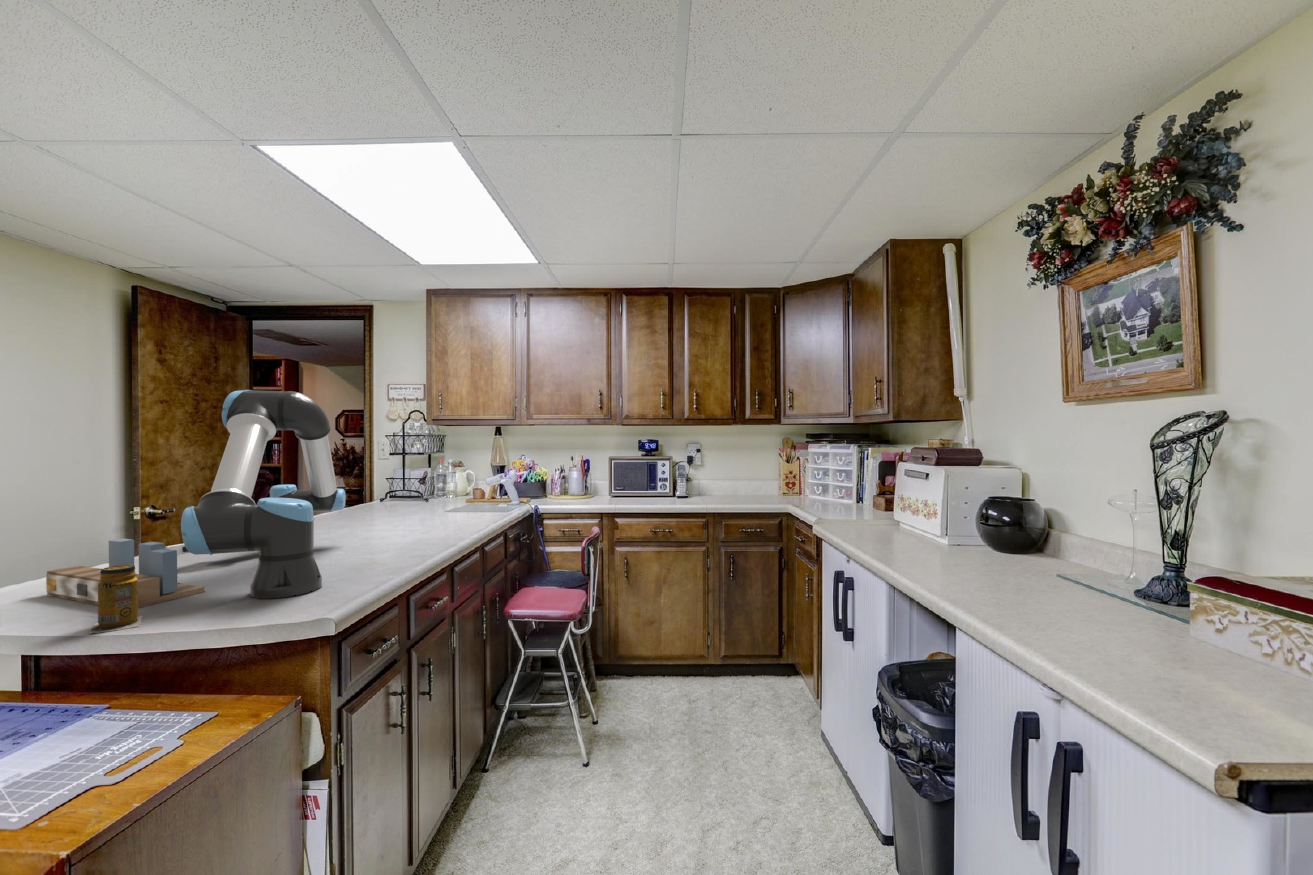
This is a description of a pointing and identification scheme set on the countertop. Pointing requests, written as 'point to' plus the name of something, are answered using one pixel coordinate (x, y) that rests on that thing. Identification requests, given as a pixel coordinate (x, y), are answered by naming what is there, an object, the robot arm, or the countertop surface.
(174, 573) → the key
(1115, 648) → the countertop surface
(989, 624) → the countertop surface
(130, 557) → the key
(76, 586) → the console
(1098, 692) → the countertop surface
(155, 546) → the key middle
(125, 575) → the condiment
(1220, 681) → the countertop surface
